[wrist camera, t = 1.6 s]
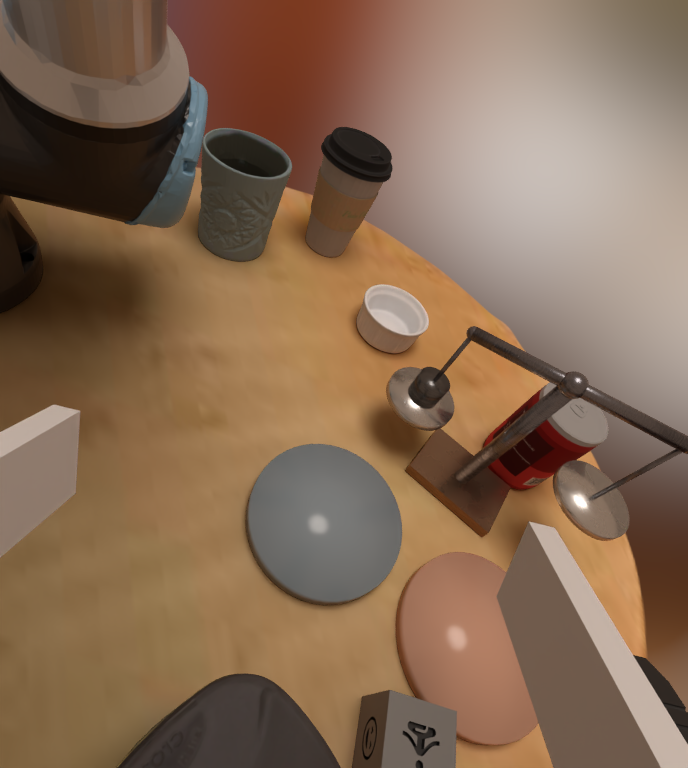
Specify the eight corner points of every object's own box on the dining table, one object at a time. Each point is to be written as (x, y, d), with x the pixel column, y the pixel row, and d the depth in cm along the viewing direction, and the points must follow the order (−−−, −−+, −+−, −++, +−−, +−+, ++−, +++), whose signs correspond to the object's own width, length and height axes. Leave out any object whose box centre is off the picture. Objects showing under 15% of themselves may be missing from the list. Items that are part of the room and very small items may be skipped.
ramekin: (358, 298, 62) (371, 274, 59) (416, 324, 64) (431, 301, 60) (345, 340, 56) (358, 316, 53) (409, 368, 58) (426, 345, 54)
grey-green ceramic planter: (209, 268, 55) (224, 177, 47) (179, 215, 59) (188, 122, 51) (281, 261, 61) (307, 179, 52) (250, 213, 65) (269, 130, 56)
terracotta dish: (364, 653, 36) (372, 650, 34) (440, 527, 45) (447, 521, 44) (510, 793, 33) (523, 795, 32) (557, 630, 43) (568, 626, 42)
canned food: (544, 461, 56) (614, 412, 48) (527, 506, 51) (602, 459, 43) (493, 421, 57) (554, 367, 49) (471, 461, 52) (535, 407, 44)
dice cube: (422, 715, 34) (456, 711, 31) (416, 803, 31) (454, 810, 27) (361, 696, 34) (389, 689, 30) (348, 784, 30) (379, 788, 27)
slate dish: (210, 521, 37) (212, 514, 36) (313, 426, 47) (317, 418, 46) (338, 645, 35) (345, 642, 34) (419, 520, 45) (427, 514, 43)
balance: (352, 425, 49) (449, 285, 34) (385, 391, 53) (483, 255, 39) (540, 588, 45) (740, 509, 30) (558, 536, 50) (738, 445, 35)
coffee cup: (340, 275, 64) (385, 176, 53) (282, 241, 64) (314, 135, 53) (362, 245, 70) (405, 152, 59) (309, 215, 70) (342, 116, 59)
